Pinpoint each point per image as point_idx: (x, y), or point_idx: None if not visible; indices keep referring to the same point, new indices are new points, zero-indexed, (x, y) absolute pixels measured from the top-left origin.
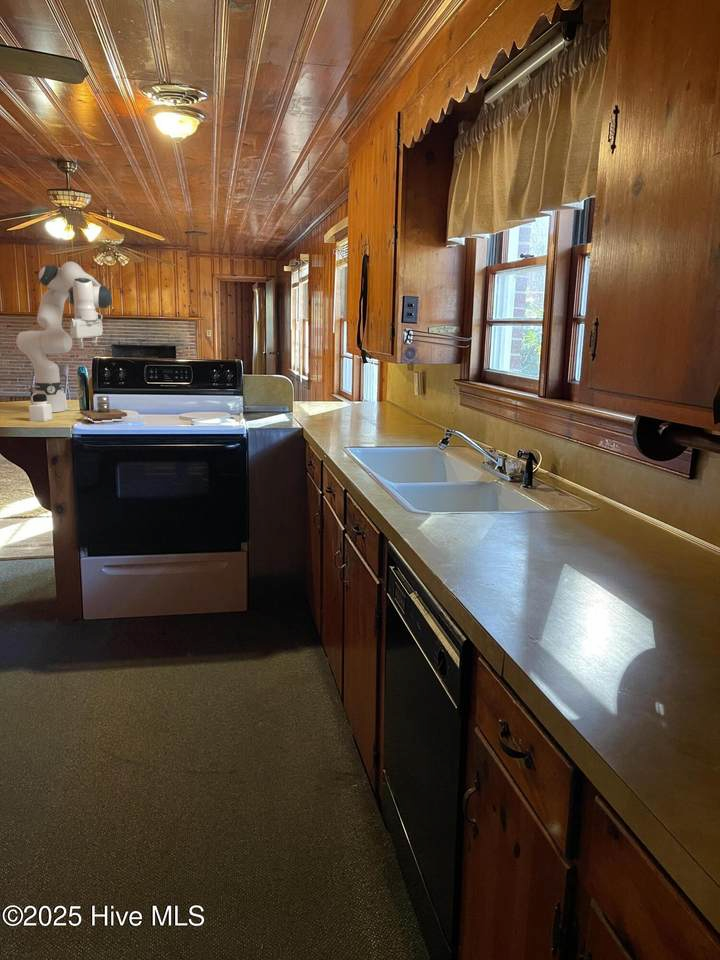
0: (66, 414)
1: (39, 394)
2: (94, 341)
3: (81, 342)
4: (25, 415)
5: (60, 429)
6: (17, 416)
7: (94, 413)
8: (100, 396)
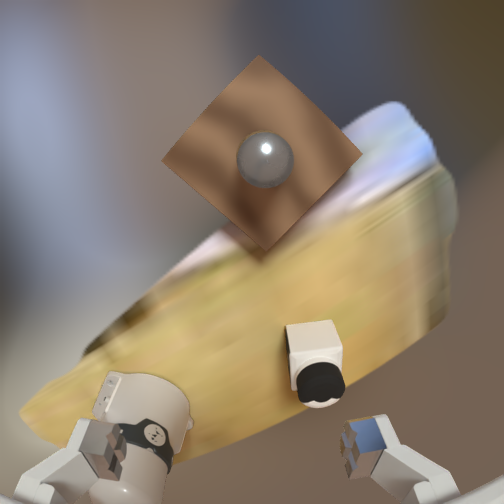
0: (181, 342)
1: (333, 388)
2: (77, 469)
3: (426, 458)
4: (241, 410)
5: (448, 193)
6: (263, 414)
7: (310, 168)
8: (259, 177)
